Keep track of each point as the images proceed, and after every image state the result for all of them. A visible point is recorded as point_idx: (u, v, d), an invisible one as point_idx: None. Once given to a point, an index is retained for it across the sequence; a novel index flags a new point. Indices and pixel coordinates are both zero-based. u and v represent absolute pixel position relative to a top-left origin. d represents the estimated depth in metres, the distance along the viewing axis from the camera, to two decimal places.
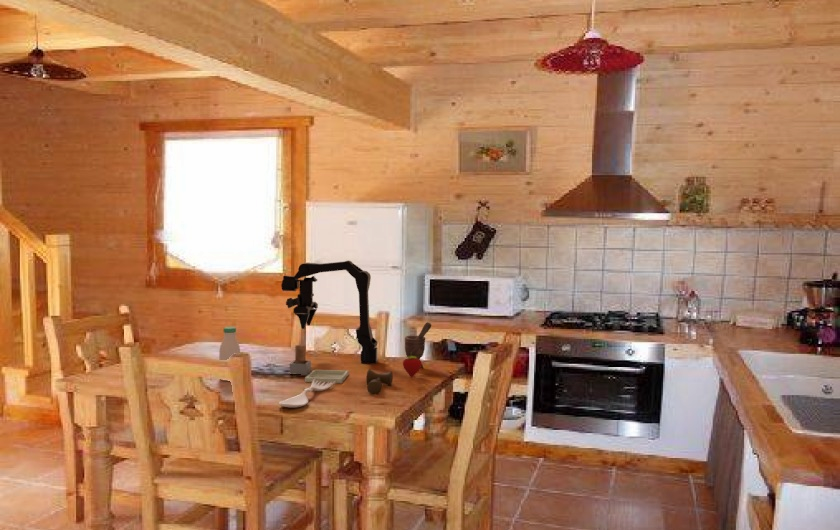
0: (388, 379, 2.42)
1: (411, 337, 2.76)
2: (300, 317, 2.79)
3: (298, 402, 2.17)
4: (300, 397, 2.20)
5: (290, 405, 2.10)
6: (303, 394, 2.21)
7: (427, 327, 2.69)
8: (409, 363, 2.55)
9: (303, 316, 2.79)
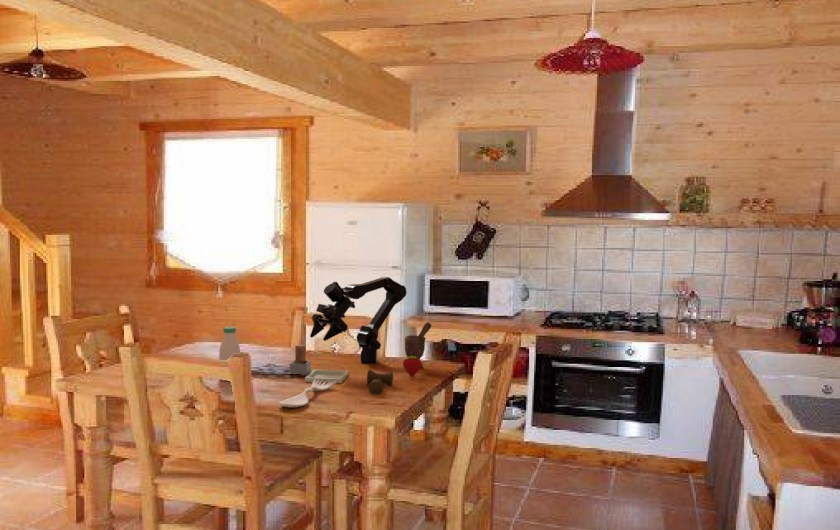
0: (389, 379, 2.42)
1: (411, 337, 2.76)
2: (332, 329, 2.62)
3: (298, 402, 2.17)
4: (300, 397, 2.20)
5: (290, 405, 2.10)
6: (303, 394, 2.21)
7: (427, 327, 2.69)
8: (409, 363, 2.55)
9: (334, 330, 2.63)
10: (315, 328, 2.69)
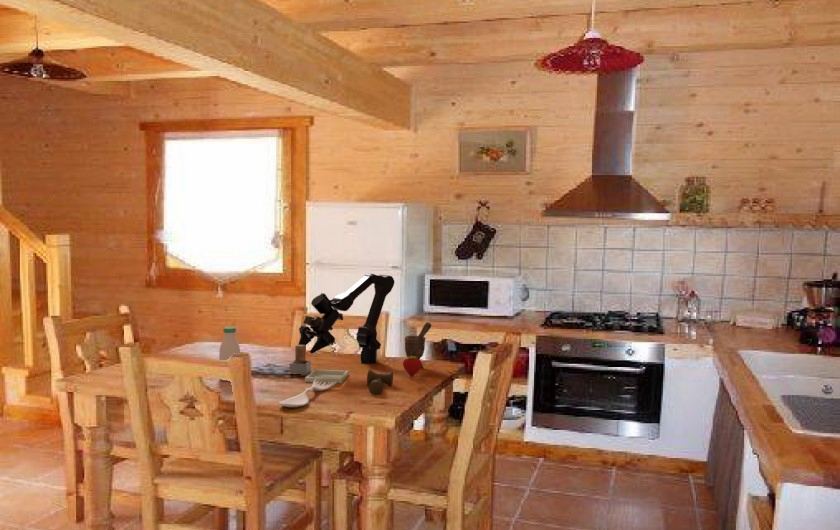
0: (389, 379, 2.42)
1: (411, 337, 2.76)
2: (319, 342, 2.58)
3: (299, 402, 2.17)
4: (300, 397, 2.20)
5: (290, 405, 2.10)
6: (304, 394, 2.22)
7: (427, 327, 2.69)
8: (409, 363, 2.55)
9: (321, 343, 2.59)
10: (302, 340, 2.65)
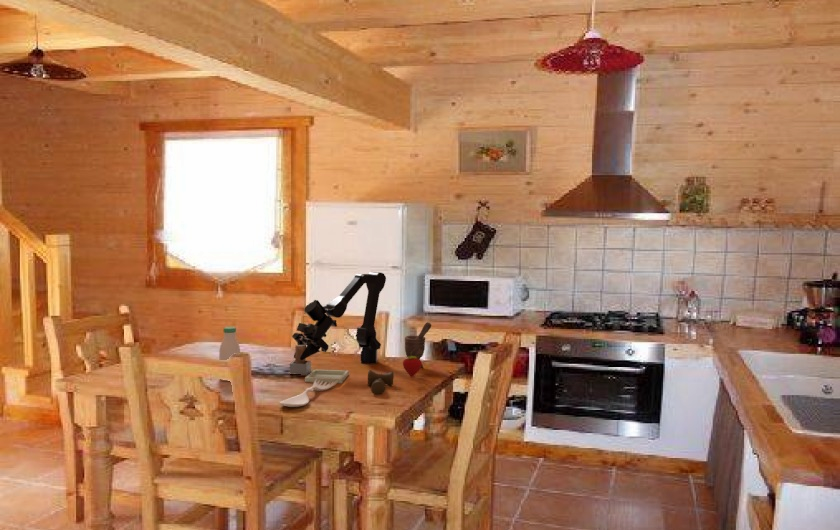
0: (390, 379, 2.42)
1: (411, 337, 2.76)
2: (309, 348, 2.57)
3: (299, 402, 2.17)
4: (301, 397, 2.20)
5: (291, 404, 2.10)
6: (304, 394, 2.22)
7: (427, 327, 2.69)
8: (409, 363, 2.55)
9: (311, 349, 2.58)
10: None
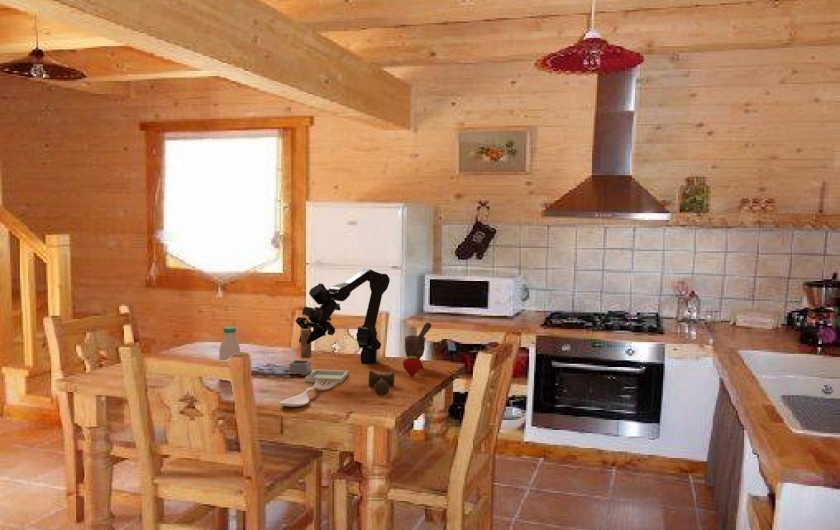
0: (391, 379, 2.42)
1: (411, 337, 2.76)
2: (315, 332, 2.55)
3: (299, 401, 2.17)
4: (301, 397, 2.20)
5: (291, 404, 2.10)
6: (305, 393, 2.22)
7: (427, 327, 2.69)
8: (409, 363, 2.55)
9: (317, 333, 2.56)
10: None
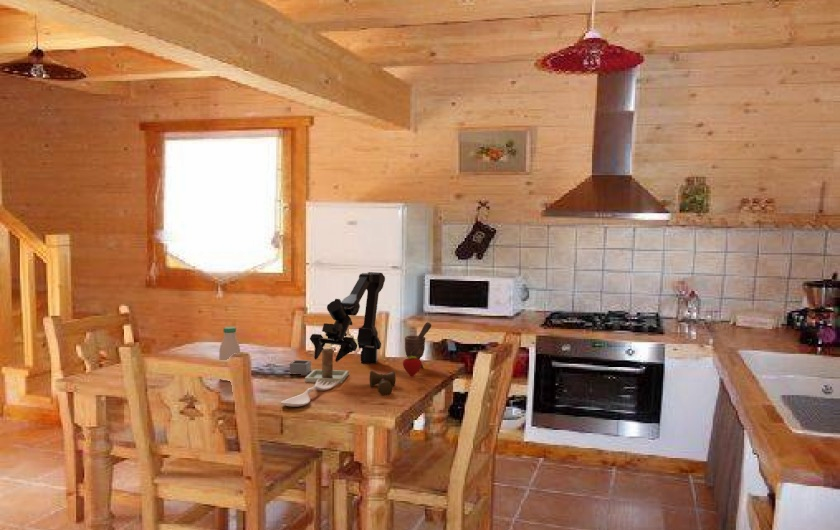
0: (393, 379, 2.42)
1: (411, 337, 2.76)
2: (343, 349, 2.50)
3: (300, 401, 2.18)
4: (302, 397, 2.20)
5: (291, 404, 2.11)
6: (305, 393, 2.22)
7: (427, 327, 2.69)
8: (409, 363, 2.55)
9: (344, 350, 2.51)
10: (318, 349, 2.54)
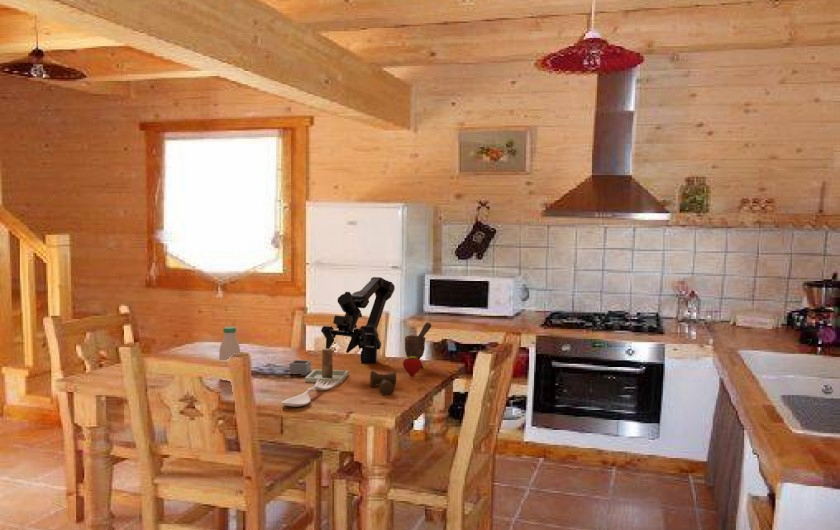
0: (393, 379, 2.42)
1: (411, 337, 2.76)
2: (353, 340, 2.57)
3: (300, 401, 2.18)
4: (302, 397, 2.21)
5: (292, 404, 2.11)
6: (306, 393, 2.22)
7: (427, 327, 2.69)
8: (409, 363, 2.55)
9: (354, 341, 2.58)
10: (329, 341, 2.61)
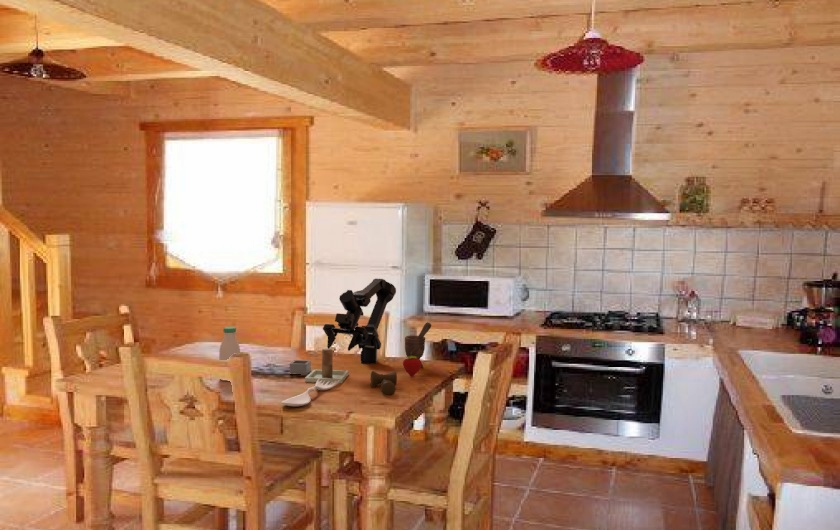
0: (394, 379, 2.42)
1: (411, 337, 2.76)
2: (355, 338, 2.58)
3: (300, 401, 2.18)
4: (302, 396, 2.21)
5: (292, 404, 2.11)
6: (306, 393, 2.22)
7: (427, 327, 2.69)
8: (409, 363, 2.55)
9: (356, 339, 2.60)
10: (330, 338, 2.62)
